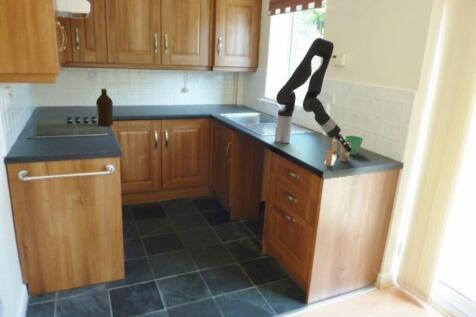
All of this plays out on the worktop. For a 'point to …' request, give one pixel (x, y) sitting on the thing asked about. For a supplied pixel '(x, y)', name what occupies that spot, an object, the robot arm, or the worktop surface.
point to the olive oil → (104, 109)
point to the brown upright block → (344, 153)
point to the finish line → (331, 154)
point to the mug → (354, 143)
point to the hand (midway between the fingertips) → (348, 149)
